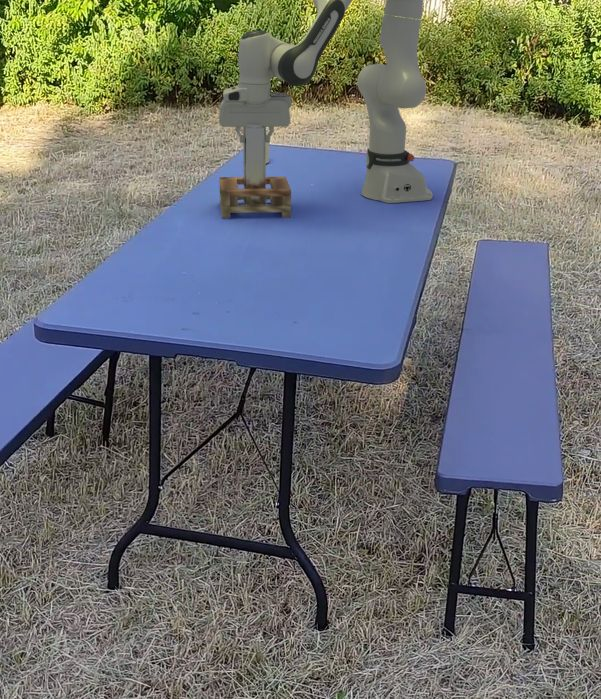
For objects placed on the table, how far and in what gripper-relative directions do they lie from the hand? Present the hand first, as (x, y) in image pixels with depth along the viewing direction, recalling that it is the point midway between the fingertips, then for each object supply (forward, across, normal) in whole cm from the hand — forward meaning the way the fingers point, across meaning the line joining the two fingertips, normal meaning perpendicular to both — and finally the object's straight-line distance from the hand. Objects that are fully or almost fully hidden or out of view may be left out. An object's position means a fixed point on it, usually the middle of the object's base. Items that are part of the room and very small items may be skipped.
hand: (254, 142), depth 245 cm
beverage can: (+20, -5, -55) cm, 59 cm away
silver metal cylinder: (+20, 0, 0) cm, 20 cm away
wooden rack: (+20, 0, 0) cm, 20 cm away
